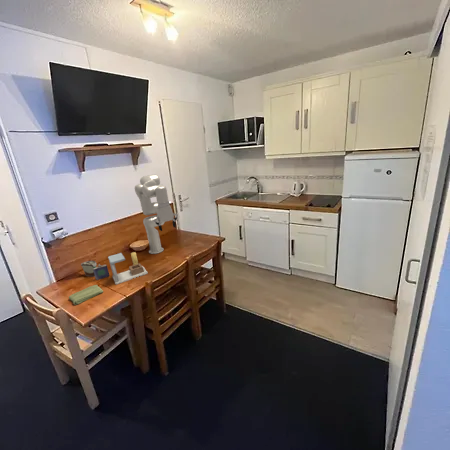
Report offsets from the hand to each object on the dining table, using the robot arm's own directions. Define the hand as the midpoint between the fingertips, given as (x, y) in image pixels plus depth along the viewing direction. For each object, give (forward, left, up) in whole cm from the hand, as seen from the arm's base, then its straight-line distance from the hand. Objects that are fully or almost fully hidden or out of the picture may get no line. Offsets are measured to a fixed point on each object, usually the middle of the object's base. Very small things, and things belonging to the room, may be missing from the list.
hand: (167, 228), depth 173 cm
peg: (-25, -22, -31) cm, 46 cm away
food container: (-38, -51, -32) cm, 71 cm away
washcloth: (-7, -58, -32) cm, 67 cm away
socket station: (-15, -29, -31) cm, 45 cm away
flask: (-26, -46, -32) cm, 62 cm away
